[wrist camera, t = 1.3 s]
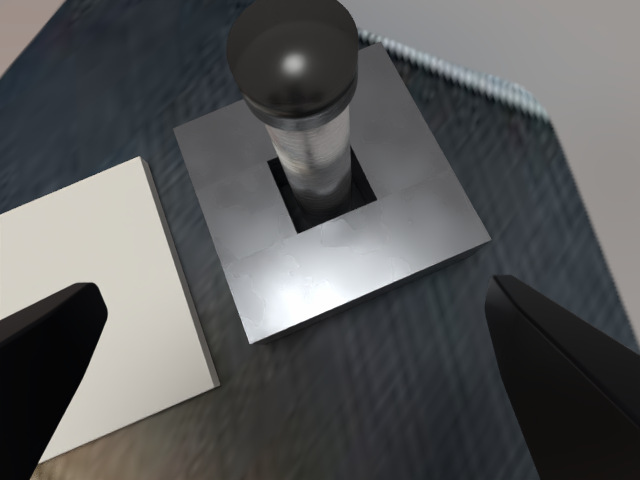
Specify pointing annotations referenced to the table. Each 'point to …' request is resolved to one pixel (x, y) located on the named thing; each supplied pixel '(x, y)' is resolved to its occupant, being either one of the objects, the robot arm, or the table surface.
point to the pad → (111, 297)
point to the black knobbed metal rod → (302, 93)
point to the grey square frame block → (339, 233)
